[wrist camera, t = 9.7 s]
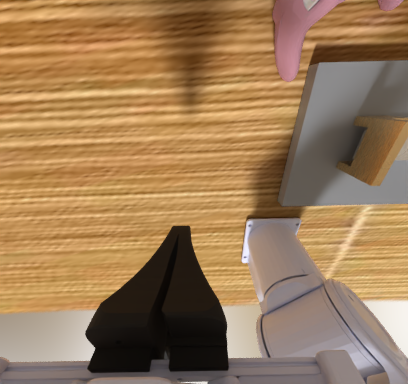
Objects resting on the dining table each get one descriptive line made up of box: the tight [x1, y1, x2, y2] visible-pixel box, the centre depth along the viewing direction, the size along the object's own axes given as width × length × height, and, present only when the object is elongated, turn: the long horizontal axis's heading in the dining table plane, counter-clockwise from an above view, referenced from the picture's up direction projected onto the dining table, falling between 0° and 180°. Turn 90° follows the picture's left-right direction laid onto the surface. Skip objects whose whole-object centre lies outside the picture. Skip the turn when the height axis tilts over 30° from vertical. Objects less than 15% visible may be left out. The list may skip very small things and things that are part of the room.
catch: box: [336, 115, 408, 186], centre depth 15 cm, size 5×3×4 cm, turn 1°
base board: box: [277, 60, 408, 206], centre depth 18 cm, size 15×22×3 cm
